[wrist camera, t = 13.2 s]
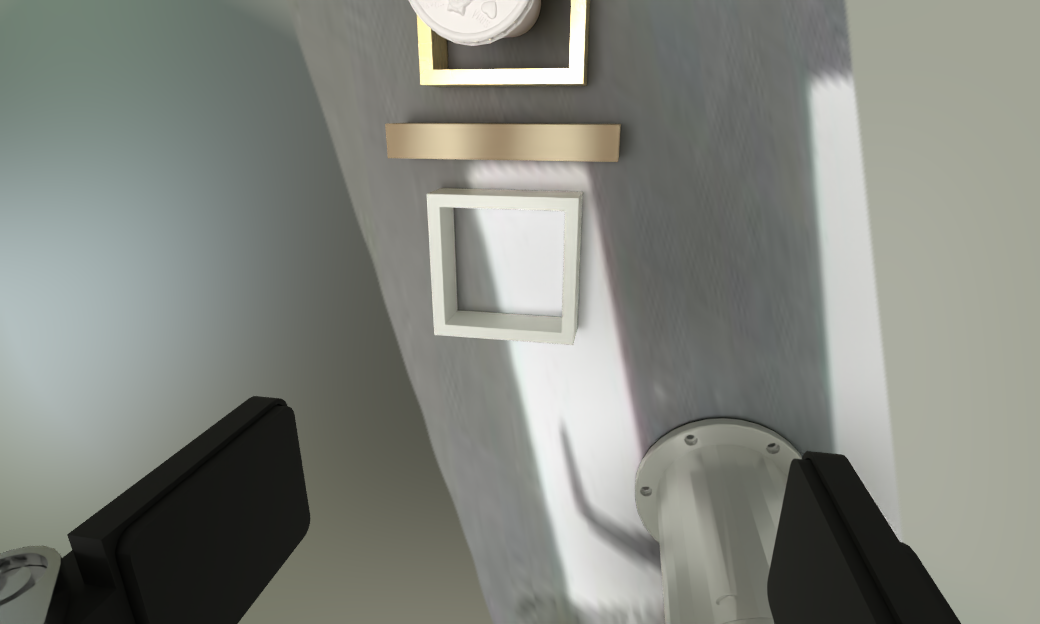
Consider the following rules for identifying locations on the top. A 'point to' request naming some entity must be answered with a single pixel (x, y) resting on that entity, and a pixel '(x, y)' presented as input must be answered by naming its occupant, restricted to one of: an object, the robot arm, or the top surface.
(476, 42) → the smoothie
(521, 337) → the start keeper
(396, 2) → the top surface
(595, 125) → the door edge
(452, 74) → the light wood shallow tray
